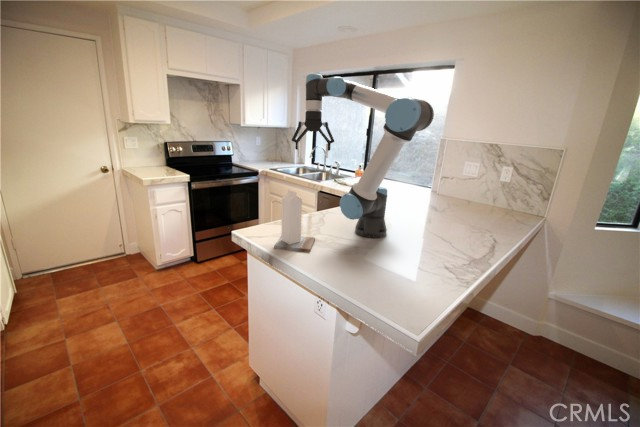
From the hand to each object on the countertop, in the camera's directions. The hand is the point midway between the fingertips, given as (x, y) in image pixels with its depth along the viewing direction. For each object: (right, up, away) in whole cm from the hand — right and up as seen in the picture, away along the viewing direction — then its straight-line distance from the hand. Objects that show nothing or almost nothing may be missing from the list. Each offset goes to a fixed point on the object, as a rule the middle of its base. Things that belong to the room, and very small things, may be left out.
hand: (312, 157), depth 146 cm
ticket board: (-7, -40, -16) cm, 44 cm away
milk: (-9, -39, -16) cm, 43 cm away
